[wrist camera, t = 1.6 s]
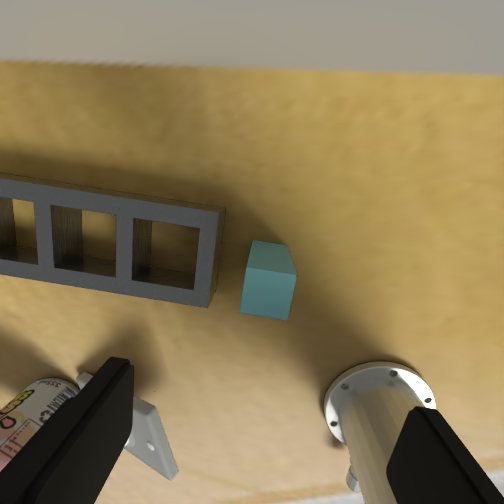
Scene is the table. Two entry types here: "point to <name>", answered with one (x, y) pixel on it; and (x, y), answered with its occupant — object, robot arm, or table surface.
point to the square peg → (268, 281)
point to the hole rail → (127, 241)
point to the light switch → (146, 436)
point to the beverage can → (30, 413)
